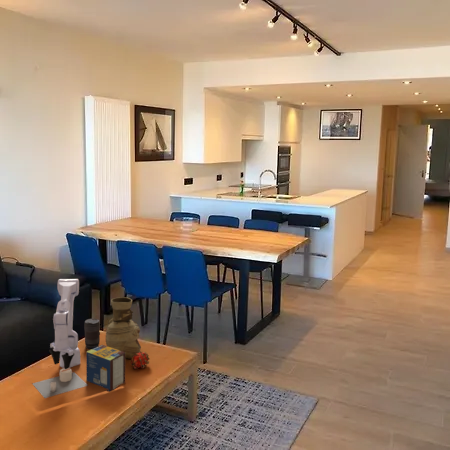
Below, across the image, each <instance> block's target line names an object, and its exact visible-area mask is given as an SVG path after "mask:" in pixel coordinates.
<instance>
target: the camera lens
mask: <svg viewBox="0 0 450 450" xmlns="http://www.w3.org/2000/svg"><path fill="white" fill-rule="evenodd" d="M100 324H101V323H100V320H99V319H98V318H88V319H86V320H85V321H84V324H83V325H84V344H85V349H87V350H91V349H94V348H96V347H98V346H100V339H101V337H100V335H101V332H100V331H101V325H100Z"/></svg>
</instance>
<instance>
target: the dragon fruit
mask: <svg viewBox="0 0 450 450" xmlns="http://www.w3.org/2000/svg"><path fill="white" fill-rule="evenodd" d="M130 364H131V366H132V367H133V369H136V370H137V369H139V368H141V369H144V368H146V365H149V364H150V357H149V354H148V353H147V352H146V351H144V352H143V351H141V350H140V352H139V353H135V355H134V356H133V357H132V359H130Z"/></svg>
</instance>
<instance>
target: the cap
mask: <svg viewBox="0 0 450 450" xmlns="http://www.w3.org/2000/svg"><path fill="white" fill-rule="evenodd" d="M72 373H73V371H72V368H71V367H70V368H68V369H65V368H61V369H59V376H60V381H62V382H67V381H70V380H71V379H72Z"/></svg>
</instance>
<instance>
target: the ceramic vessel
mask: <svg viewBox="0 0 450 450" xmlns="http://www.w3.org/2000/svg"><path fill="white" fill-rule="evenodd" d="M110 304H111V307H112V318H111V319H110V320H109V321H108V322H107V323H108V325H107V328H106V331H105V346H108V347H111V348H114V349H117V350H120V351H123V352H125V360H126V359H128V360H132V357H133V356H134V355H135V353H139V352H140V351H141V348H142V347H141V346H142V345H141V344H140V341H139V340H138V339H139V338H140V332H141V329H140V327H139V325H138V324H137V323H138V322H137V321H133V320H132V319H133V313H134V311H133V310H132V309H131V308H132V304H133V299H131V298H130V297H127V296H126V297H124V296H121V297H120V296H119V297H115V298H111V300H110Z"/></svg>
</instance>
